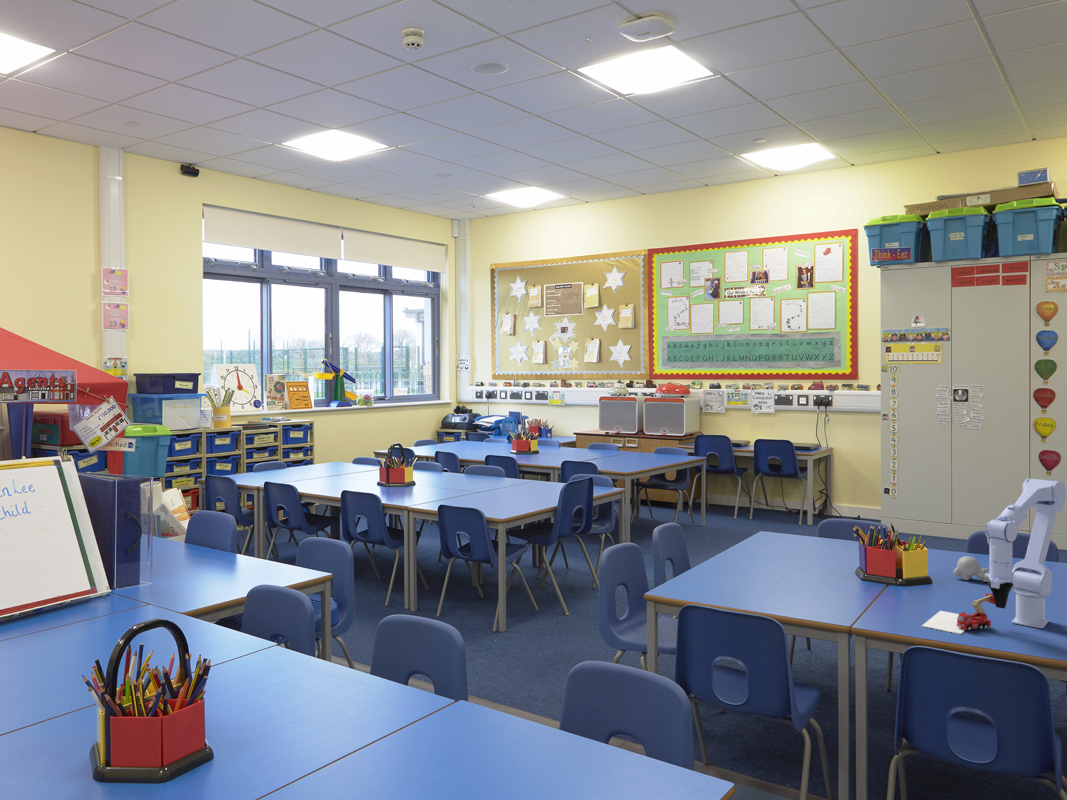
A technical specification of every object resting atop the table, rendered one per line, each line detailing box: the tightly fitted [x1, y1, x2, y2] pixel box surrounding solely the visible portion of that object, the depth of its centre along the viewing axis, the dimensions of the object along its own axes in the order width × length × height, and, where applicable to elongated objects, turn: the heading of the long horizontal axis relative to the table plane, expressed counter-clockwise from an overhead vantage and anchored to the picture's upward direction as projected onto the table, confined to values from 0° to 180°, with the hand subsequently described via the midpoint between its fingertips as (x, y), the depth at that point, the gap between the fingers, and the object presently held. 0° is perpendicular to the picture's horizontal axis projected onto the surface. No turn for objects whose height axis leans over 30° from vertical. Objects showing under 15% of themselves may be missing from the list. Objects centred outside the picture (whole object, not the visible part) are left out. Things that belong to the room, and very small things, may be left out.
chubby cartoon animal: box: [952, 555, 991, 583], centre depth 273 cm, size 7×12×8 cm, turn 42°
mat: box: [921, 610, 966, 635], centre depth 228 cm, size 19×11×1 cm, turn 136°
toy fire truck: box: [957, 593, 995, 631], centre depth 223 cm, size 3×14×10 cm, turn 105°
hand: (1000, 607), depth 219 cm, fingers closed
